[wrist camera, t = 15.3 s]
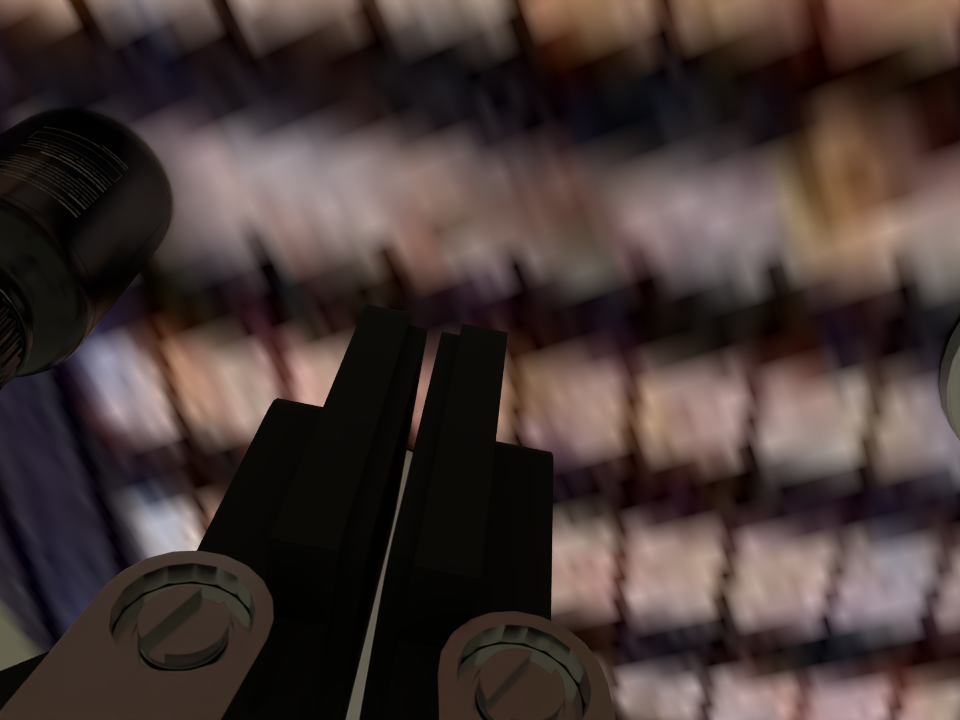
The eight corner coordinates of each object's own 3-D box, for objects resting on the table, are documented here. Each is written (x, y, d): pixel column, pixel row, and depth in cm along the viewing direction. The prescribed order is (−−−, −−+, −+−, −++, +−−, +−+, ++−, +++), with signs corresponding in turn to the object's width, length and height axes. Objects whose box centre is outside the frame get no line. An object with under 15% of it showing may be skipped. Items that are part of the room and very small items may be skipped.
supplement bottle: (-34, 150, 35) (-264, 292, 25) (103, 75, 33) (-83, 196, 23) (77, 292, 38) (-85, 469, 28) (209, 231, 36) (85, 397, 26)
